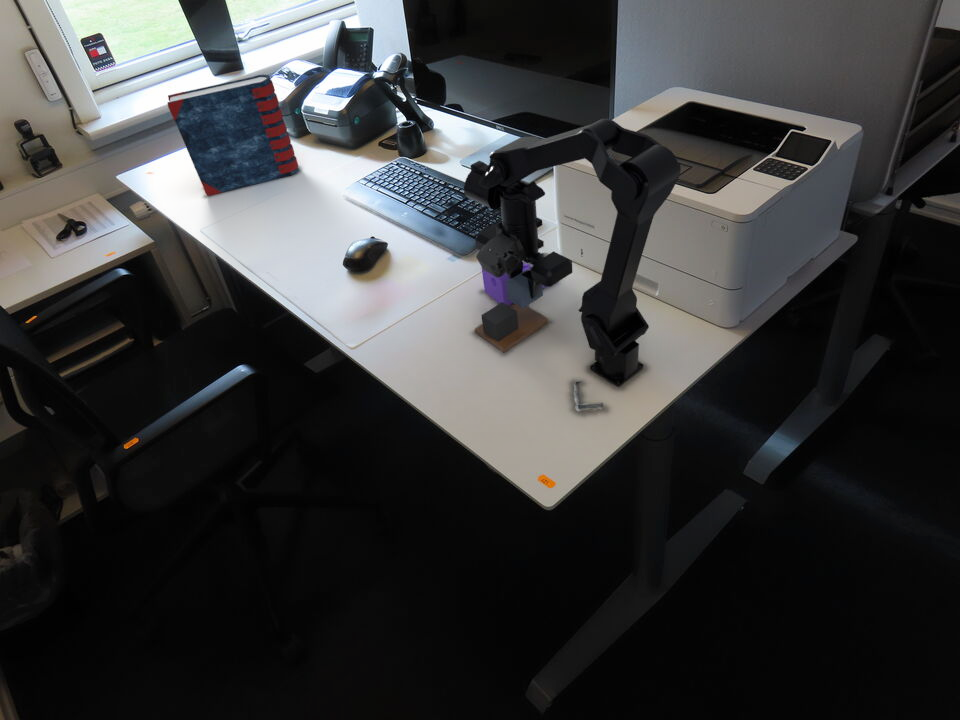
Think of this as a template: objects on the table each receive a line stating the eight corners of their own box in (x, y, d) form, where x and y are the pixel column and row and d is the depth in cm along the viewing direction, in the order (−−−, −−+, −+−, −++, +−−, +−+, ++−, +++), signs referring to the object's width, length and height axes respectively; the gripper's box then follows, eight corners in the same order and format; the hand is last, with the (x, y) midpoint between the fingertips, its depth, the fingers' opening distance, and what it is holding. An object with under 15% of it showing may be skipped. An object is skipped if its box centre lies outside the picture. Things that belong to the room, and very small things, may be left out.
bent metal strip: (611, 397, 105) (590, 413, 103) (611, 403, 106) (590, 419, 104) (577, 376, 110) (556, 391, 108) (577, 382, 111) (556, 397, 108)
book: (298, 163, 185) (269, 71, 168) (301, 173, 180) (271, 80, 163) (206, 186, 181) (167, 94, 164) (206, 197, 176) (166, 103, 159)
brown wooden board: (548, 322, 122) (548, 318, 122) (504, 352, 118) (503, 348, 117) (518, 304, 127) (518, 300, 127) (474, 333, 123) (474, 328, 122)
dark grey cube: (518, 328, 121) (517, 311, 118) (498, 342, 119) (496, 324, 116) (503, 319, 123) (501, 301, 120) (483, 332, 121) (481, 315, 118)
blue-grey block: (543, 295, 121) (542, 277, 118) (523, 308, 119) (521, 290, 116) (527, 287, 123) (526, 269, 121) (507, 299, 121) (506, 281, 118)
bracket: (504, 307, 127) (501, 278, 123) (484, 291, 132) (480, 262, 127) (554, 282, 131) (553, 253, 127) (533, 267, 136) (531, 238, 131)
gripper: (446, 218, 112) (458, 293, 123) (522, 259, 101) (529, 337, 111) (495, 192, 117) (503, 266, 127) (573, 228, 105) (575, 306, 116)
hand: (525, 292), depth 120 cm, fingers closed on blue-grey block, 4 cm apart
